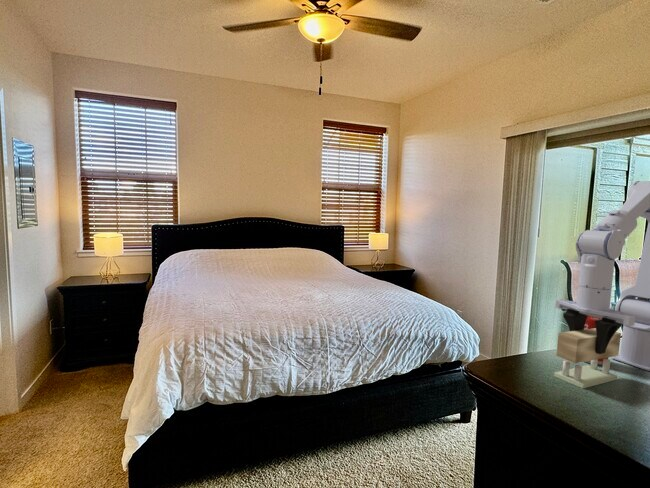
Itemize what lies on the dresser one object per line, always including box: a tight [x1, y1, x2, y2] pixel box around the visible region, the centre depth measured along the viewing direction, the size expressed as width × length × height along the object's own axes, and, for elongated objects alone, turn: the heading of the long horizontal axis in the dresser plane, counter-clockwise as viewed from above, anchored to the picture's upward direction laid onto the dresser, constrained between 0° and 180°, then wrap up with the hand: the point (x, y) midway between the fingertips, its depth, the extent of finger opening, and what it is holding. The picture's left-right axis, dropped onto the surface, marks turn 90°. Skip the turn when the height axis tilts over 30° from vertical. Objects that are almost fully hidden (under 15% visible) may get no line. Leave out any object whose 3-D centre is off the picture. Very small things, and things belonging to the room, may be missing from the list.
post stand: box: [553, 358, 618, 389], centre depth 78 cm, size 12×6×4 cm, turn 114°
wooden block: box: [555, 328, 622, 364], centre depth 78 cm, size 14×4×5 cm, turn 112°
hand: (588, 349), depth 78 cm, fingers closed on wooden block, 4 cm apart
